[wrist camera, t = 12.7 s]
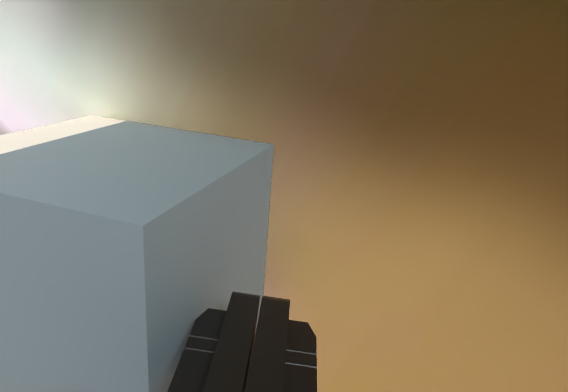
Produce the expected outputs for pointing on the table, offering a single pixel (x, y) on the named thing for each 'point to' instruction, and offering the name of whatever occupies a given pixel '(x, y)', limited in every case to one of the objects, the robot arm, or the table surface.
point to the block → (121, 248)
